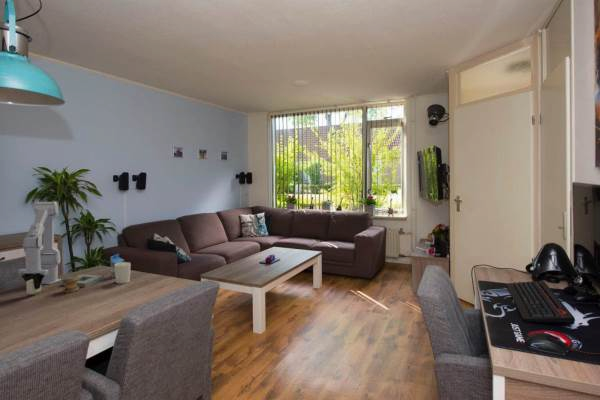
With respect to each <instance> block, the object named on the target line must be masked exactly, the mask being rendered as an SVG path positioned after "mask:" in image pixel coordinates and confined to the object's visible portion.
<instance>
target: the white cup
mask: <svg viewBox="0 0 600 400" xmlns="http://www.w3.org/2000/svg"><path fill="white" fill-rule="evenodd" d="M130 276H131V262H129V261H127V262H126V261H125V262H122V263H117V264H115V277H116V278H115V283H117V284H126V283H129V282H130V280H131V279H130V278H131V277H130Z"/></svg>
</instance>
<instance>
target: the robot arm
mask: <svg viewBox="0 0 600 400" xmlns="http://www.w3.org/2000/svg"><path fill="white" fill-rule="evenodd" d="M32 209H33V212H34V215H35V218H34V222H33V223H32V224H31V225H30V226H29V229H28V233H27V235H26V236H25V237H24V238H23V240H22V248H23V252H24V255H25V268H20V269H18V274H22V275H21V278H22V279H23V280H24V282H26V281H28V280H31V279H33V281H34V287H35V289H39V288H40V285H41V286H42V285H52V284H54V283H58V282H60V281H62V280H63V279H62V278H58V265H60V263H61V259H62V258H61V252H60V250H59V249H58V248H56V247H55V218H57V217H59V203H58V202H57V201H35V202H34V203H33V207H32ZM41 248H42V249H41Z"/></svg>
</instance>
